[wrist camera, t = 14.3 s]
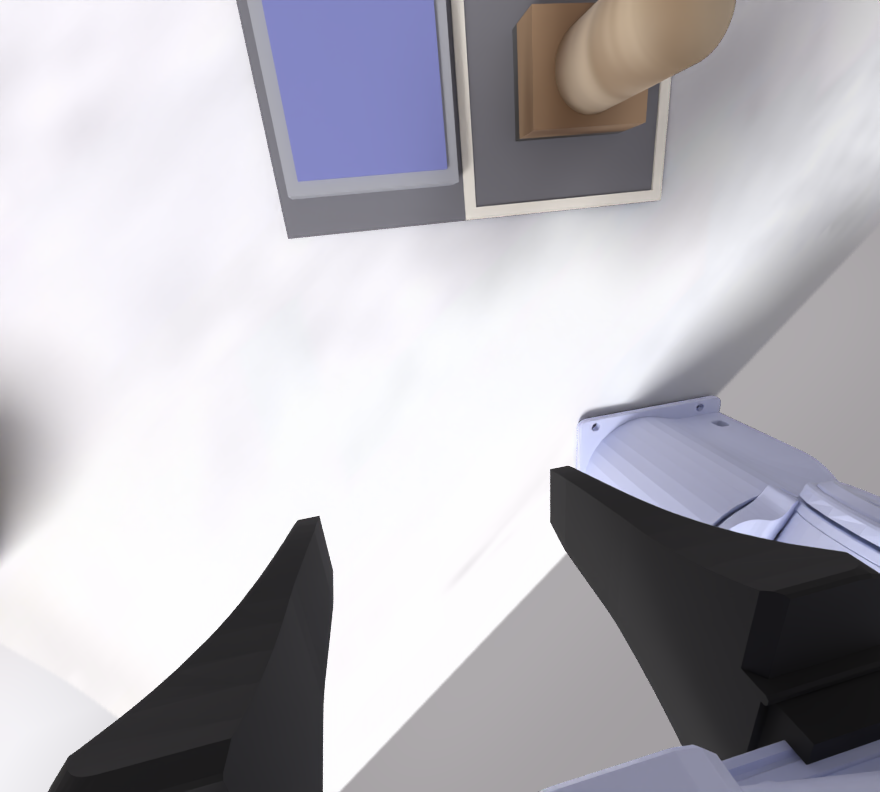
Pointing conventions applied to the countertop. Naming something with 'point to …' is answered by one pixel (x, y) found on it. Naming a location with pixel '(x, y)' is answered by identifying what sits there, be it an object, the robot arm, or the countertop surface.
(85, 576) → the countertop surface
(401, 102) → the stamp mat
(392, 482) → the countertop surface
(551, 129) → the stamp
